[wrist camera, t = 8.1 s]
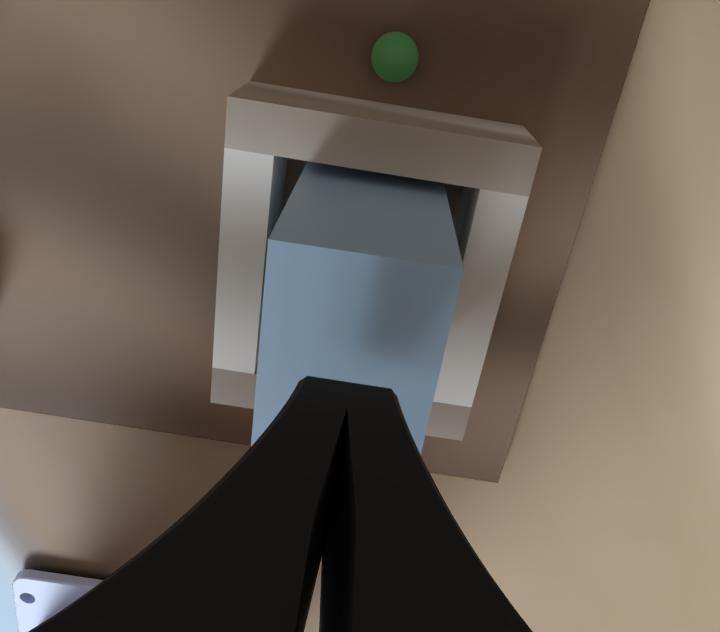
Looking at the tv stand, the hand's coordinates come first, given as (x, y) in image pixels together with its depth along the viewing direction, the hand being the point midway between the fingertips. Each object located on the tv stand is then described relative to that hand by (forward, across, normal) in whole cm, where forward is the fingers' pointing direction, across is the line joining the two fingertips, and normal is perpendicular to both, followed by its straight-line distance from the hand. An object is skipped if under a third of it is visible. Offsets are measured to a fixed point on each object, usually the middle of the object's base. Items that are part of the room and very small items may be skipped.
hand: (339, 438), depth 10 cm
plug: (+8, 0, 0) cm, 8 cm away
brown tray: (+8, +6, 0) cm, 10 cm away
